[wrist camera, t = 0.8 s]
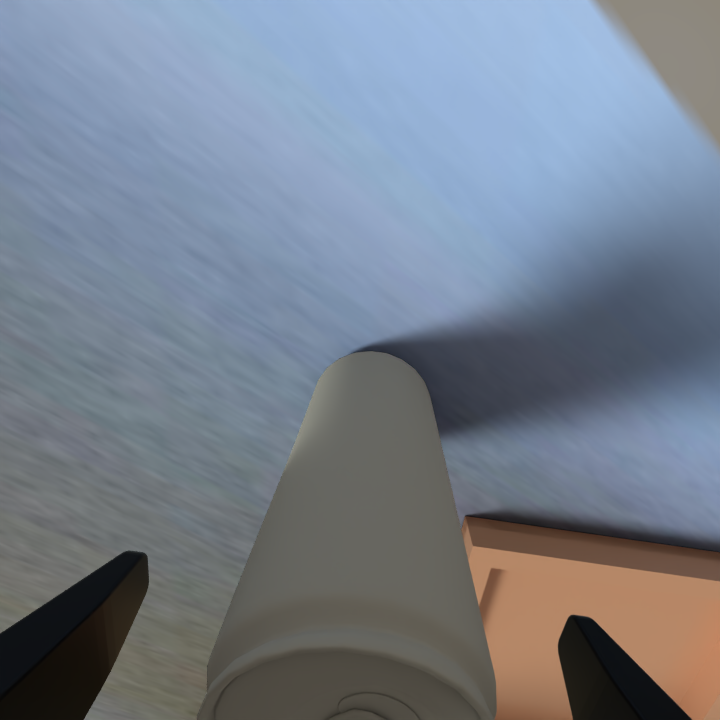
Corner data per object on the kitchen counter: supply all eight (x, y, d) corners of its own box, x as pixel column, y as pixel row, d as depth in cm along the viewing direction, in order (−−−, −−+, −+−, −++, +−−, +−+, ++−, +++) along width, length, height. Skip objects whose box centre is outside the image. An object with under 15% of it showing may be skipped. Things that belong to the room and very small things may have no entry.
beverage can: (454, 403, 17) (580, 770, 6) (370, 471, 19) (348, 873, 8) (371, 321, 16) (341, 581, 5) (288, 399, 18) (123, 739, 7)
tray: (657, 748, 24) (678, 790, 22) (412, 713, 24) (414, 751, 23) (773, 560, 19) (810, 594, 18) (465, 516, 19) (472, 546, 18)
